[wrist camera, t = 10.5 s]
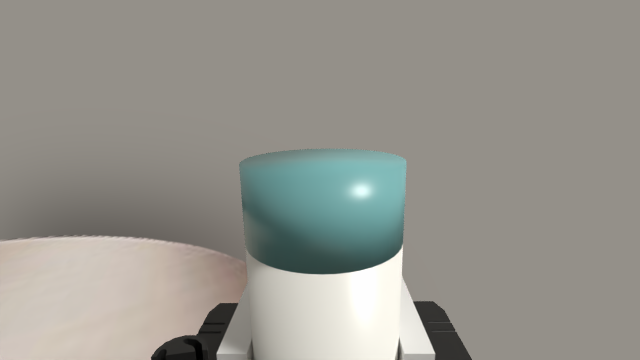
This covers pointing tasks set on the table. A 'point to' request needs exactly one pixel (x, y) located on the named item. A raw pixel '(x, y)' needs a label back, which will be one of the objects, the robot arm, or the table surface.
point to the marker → (324, 253)
